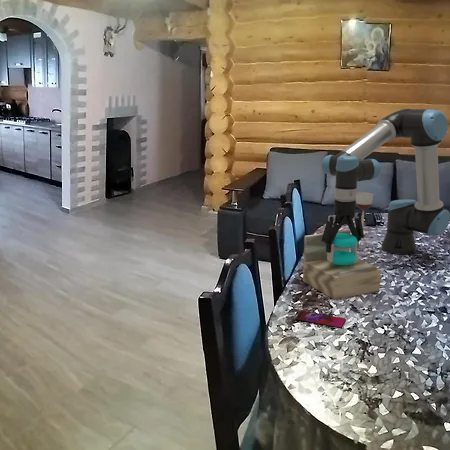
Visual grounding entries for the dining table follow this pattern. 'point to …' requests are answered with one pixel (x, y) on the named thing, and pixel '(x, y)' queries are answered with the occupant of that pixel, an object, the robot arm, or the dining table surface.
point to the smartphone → (320, 319)
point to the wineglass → (364, 203)
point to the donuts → (344, 241)
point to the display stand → (336, 271)
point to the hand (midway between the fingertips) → (341, 258)
